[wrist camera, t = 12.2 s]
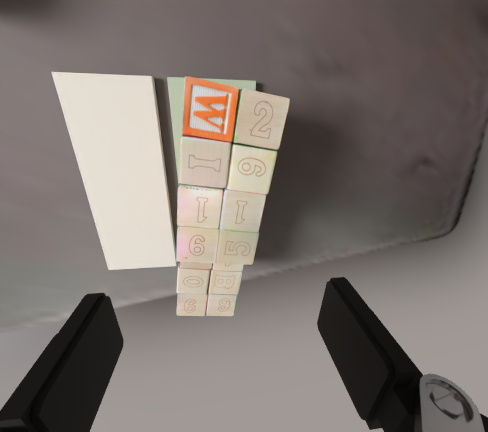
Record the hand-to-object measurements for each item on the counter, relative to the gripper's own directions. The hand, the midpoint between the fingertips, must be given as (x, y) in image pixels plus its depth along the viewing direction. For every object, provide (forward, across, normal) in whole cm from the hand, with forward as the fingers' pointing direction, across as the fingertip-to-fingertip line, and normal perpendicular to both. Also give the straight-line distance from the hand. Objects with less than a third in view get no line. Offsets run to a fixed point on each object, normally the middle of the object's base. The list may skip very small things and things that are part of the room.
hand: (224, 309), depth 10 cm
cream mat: (+20, +11, +1) cm, 23 cm away
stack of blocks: (+20, 0, +2) cm, 20 cm away
